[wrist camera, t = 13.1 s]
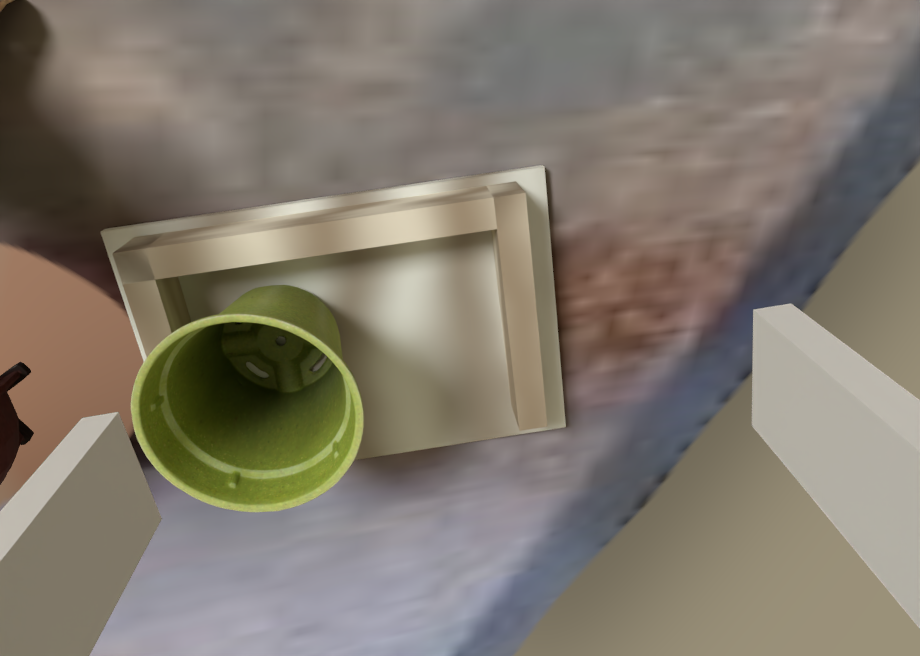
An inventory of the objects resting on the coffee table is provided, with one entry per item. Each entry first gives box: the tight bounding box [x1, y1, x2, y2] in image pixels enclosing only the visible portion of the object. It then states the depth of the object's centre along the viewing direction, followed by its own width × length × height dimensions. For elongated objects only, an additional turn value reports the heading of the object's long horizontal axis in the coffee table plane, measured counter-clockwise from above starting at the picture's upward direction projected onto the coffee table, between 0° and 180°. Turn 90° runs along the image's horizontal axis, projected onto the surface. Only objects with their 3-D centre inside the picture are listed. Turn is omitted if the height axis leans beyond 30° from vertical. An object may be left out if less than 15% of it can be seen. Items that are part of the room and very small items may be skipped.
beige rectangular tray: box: [101, 165, 566, 460], centre depth 36 cm, size 22×15×4 cm
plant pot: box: [131, 285, 364, 512], centre depth 33 cm, size 9×9×9 cm
